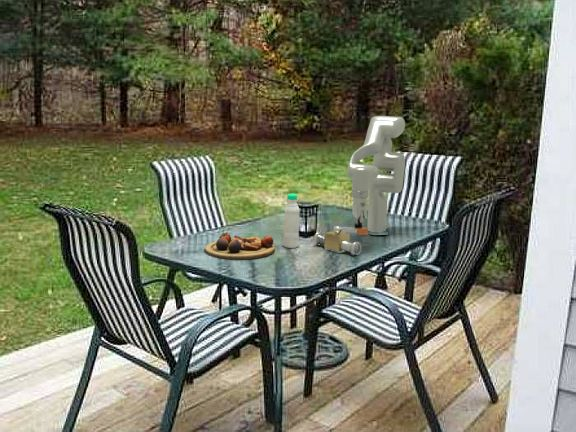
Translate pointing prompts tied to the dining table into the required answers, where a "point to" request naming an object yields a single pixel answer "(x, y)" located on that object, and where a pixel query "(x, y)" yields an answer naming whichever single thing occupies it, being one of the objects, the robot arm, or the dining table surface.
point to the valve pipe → (337, 242)
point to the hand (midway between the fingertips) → (358, 232)
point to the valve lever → (351, 230)
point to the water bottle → (291, 222)
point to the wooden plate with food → (240, 247)
